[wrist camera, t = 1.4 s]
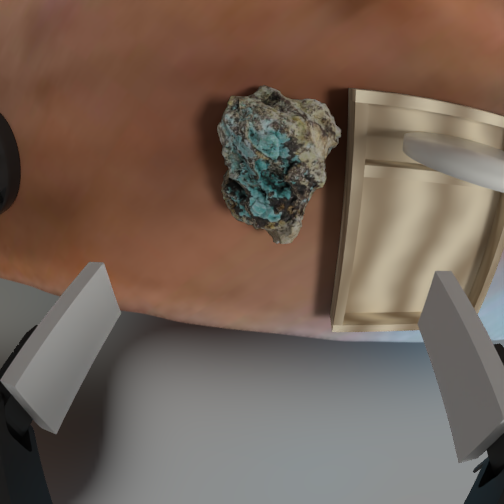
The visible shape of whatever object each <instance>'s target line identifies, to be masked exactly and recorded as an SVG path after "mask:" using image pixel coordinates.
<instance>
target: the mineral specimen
mask: <svg viewBox="0 0 504 504" xmlns="http://www.w3.org/2000/svg"><path fill="white" fill-rule="evenodd" d="M227 104H228V106H227V108H226V109H225V111H224V113H223V116H222V119H221V122H220V123H219V124H218V126H217V132H218V135H219V138H220V142H221V144H222V146H223V147H222V155H223V156H224V159H225V165H226V166H227V167H228V168H229V170H227V172H226V173H225V175H224V176H223V179H224V180H223V183H222V185H221V186H222V189H221V192H222V193H223V199H224V200H225V202H226V205H227V207H228V208H229V209H230V210H231V213H232V215H233V216H234V217H235V218H236V219H237V220H238V221H242V222H245V223H246V224H248V225H253V227H254V228H255V229H258V228H261V229H265V230H266V231H267V232H268V233H269V234H270V235H271V236H272V237H273V242H275V243H276V244H278V243H280V244H288V243H292V241H293V239H294V238H296V236H297V235H298V233H299V231H300V228H301V227H302V223H301V220H302V219H303V215H304V211H305V207H306V205H307V203H308V201H309V200H310V198H311V196H312V194H313V192H314V191H315V190H316V189H318V188H322V187H323V186H324V184H325V181H326V178H327V173H326V172H325V167H326V164H325V159H326V157H327V156H328V154H329V153H330V151H331V149H332V148H335V147H336V145H337V144H338V143H339V139H338V138H339V137H341V129H340V128H339V127H338V126H337V125H336V124H335V121H334V117H333V116H332V115H331V114H330V111H329V109H328V107H327V106H326V104H324V103H321V102H319V101H317V100H315V99H304V100H294V99H289V98H286V97H285V96H283V95H282V94H281V93H280V91H278V90H276V89H273V88H271V87H268V86H265V85H264V86H260V87H259V88H258V90H257V91H256V92H255V93H254V94H252V95H250V96H246V97H240V96H231V97H230V99H229V101H228V103H227Z"/></svg>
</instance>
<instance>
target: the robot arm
mask: <svg viewBox="0 0 504 504" xmlns="http://www.w3.org/2000/svg"><path fill="white" fill-rule="evenodd" d="M19 184H20V160H19V153H18V149H17V145H16V141H15V138H14V135H13V133H12V131H11V128H10V126H9V125H8V123H7V121H6V120H5V118H4V117H3V116H2V115H1V114H0V214H2V213H3V212H4V211H6V210H7V209H8V208H10V206H11V205H12V204H13V202H14V201H15V199H16V196H17V193H18V190H19ZM120 314H121V312H120V309H119V306H118V304H117V301H116V298H115V295H114V292H113V289H112V286H111V283H110V280H109V277H108V274H107V271H106V268H105V265H104V263H102V262H89V263H88V264H87V265H86V266H85V268H84V269H83V270H82V271H81V272H80V274H79V275H78V276H77V277H76V278H75V279H74V281H73V282H72V283H71V284H70V286H69V287H68V288H67V289H66V290H65V292H64V293H63V294H62V295H61V297H60V298H59V299H58V300H57V302H56V303H55V304H54V306H53V307H52V308H51V309H50V311H49V312H48V313H47V314H46V316H45V317H44V318H43V320H42V321H41V322H40V324H39V325H36V326H34V327H33V328H32V329H31V330H30V331H29V332H27V333H26V334H25V335H24V337H23V338H22V340H21V341H20V342H19V345H17V346H16V348H15V349H14V352H12V353H11V355H10V356H9V358H8V359H7V361H6V362H5V364H4V365H3V367H2V368H1V369H0V504H53V503H52V500H51V497H50V494H49V490H48V487H47V484H46V480H45V476H44V473H43V469H42V465H41V461H40V457H39V452H38V448H37V443H36V438H35V433H34V430H33V427H32V426H31V425H30V424H31V422H32V420H34V421H35V422H36V423H37V424H38V425H39V426H40V427H41V428H43V429H45V430H47V431H50V432H52V433H54V434H57V432H58V430H59V427H60V425H61V423H62V421H63V419H64V417H65V415H66V413H67V411H68V409H69V407H70V405H71V403H72V401H73V399H74V397H75V395H76V393H77V392H78V390H79V388H80V386H81V384H82V382H83V380H84V378H85V376H86V374H87V373H88V371H89V369H90V367H91V365H92V363H93V361H94V360H95V358H96V356H97V354H98V352H99V351H100V349H101V347H102V345H103V343H104V342H105V340H106V338H107V336H108V335H109V333H110V331H111V329H112V328H113V326H114V324H115V323H116V321H117V319H118V317H119V316H120ZM418 327H419V329H420V332H421V335H422V338H423V340H424V343H425V346H426V348H427V351H428V354H429V357H430V361H431V363H432V367H433V369H434V372H435V375H436V379H437V382H438V385H439V389H440V392H441V395H442V398H443V402H444V405H445V409H446V413H447V416H448V420H449V424H450V428H451V432H452V436H453V440H454V444H455V449H456V453H457V457H458V462H459V463H462V462H465V461H469V460H472V459H476V458H478V457H479V456H480V455H481V454H483V453H484V452H485V451H486V450H487V453H488V457H487V458H486V459H485V460H484V461H483V462H481V463H480V464H479V465H478V466H477V467H476V468H475V469H474V471H473V472H474V473H475V472H477V471H478V470H479V469H481V470H480V472H479V474H478V476H477V479H476V481H475V483H474V485H473V487H472V489H471V491H470V493H469V495H468V497H467V499H466V500H465V502H464V504H504V347H503V346H502V345H501V344H493V343H492V341H491V339H490V337H489V335H488V333H487V331H486V329H485V328H484V326H483V324H482V322H481V320H480V318H479V316H478V315H477V313H476V311H475V309H474V308H473V306H472V304H471V302H470V301H469V299H468V297H467V296H466V294H465V292H464V291H463V289H462V287H461V286H460V284H459V282H458V281H457V279H456V277H455V276H454V274H453V273H452V271H435V273H434V277H433V280H432V283H431V286H430V289H429V292H428V295H427V298H426V301H425V304H424V307H423V310H422V313H421V316H420V318H419V321H418Z"/></svg>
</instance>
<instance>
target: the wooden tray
mask: <svg viewBox="0 0 504 504" xmlns="http://www.w3.org/2000/svg"><path fill="white" fill-rule="evenodd" d="M411 132H428V133H437V134H444V135H450V136H455V137H460V138H464V139H468V140H472V141H476V142H479V143H482V144H486V145H489V146H492V147H495V148H497V149H500V150H503V151H504V116H502V115H499V114H495V113H492V112H488V111H484V110H480V109H476V108H472V107H468V106H464V105H459V104H455V103H450V102H445V101H440V100H435V99H430V98H424V97H418V96H412V95H406V94H399V93H392V92H384V91H375V90H366V89H355V88H349V92H348V131H347V153H346V170H345V184H344V197H343V209H342V220H341V230H340V240H339V249H338V257H337V266H336V274H335V281H334V289H333V296H332V303H331V309H330V318H331V327H332V332H374V331H406V330H420V329H419V327H418V321H419V318H420V316H421V313H422V310H423V307H424V304H425V301H426V298H427V295H428V292H429V289H430V286H431V283H432V280H433V277H434V273H435V271H452V273H453V274H454V276H455V277H456V279H457V281H458V282H459V284H460V286H461V287H462V289H463V291H464V292H465V294H466V296H467V297H468V299H469V301H470V302H471V304H472V306H473V308H474V309H475V311H476V313H477V314H478V312H479V310H480V308H481V305H482V303H483V301H484V299H485V296H486V294H487V291H488V289H489V287H490V284H491V282H492V279H493V276H494V274H495V271H496V269H497V266H498V263H499V260H500V257H501V255H502V252H503V249H504V193H502V192H499V191H495V190H491V189H488V188H485V187H481V186H478V185H475V184H472V183H469V182H466V181H463V180H460V179H457V178H454V177H452V176H449V175H446V174H444V173H441V172H439V171H436V170H434V169H431V168H429V167H427V166H425V165H423V164H421V163H418V162H417V161H415V160H413V159H411V158H410V157H408V156H407V155H406V154H405V153H404V152H403V138H404V135H405V134H406V133H411Z"/></svg>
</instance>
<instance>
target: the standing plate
mask: <svg viewBox="0 0 504 504" xmlns="http://www.w3.org/2000/svg"><path fill="white" fill-rule="evenodd" d="M403 152H404V153H405V154H406V155H407V156H408V157H410V158H411V159H413V160H415V161H417V162H418V163H421V164H423V165H425V166H427V167H429V168H431V169H434V170H436V171H439V172H441V173H444V174H446V175H449V176H452V177H454V178H457V179H460V180H463V181H466V182H469V183H472V184H475V185H478V186H481V187H485V188H488V189H491V190H495V191H499V192H502V193H504V151H503V150H500V149H497V148H495V147H492V146H489V145H486V144H482V143H479V142H476V141H472V140H468V139H464V138H460V137H455V136H450V135H444V134H437V133H428V132H411V133H406V134H405V135H404V138H403Z"/></svg>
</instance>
